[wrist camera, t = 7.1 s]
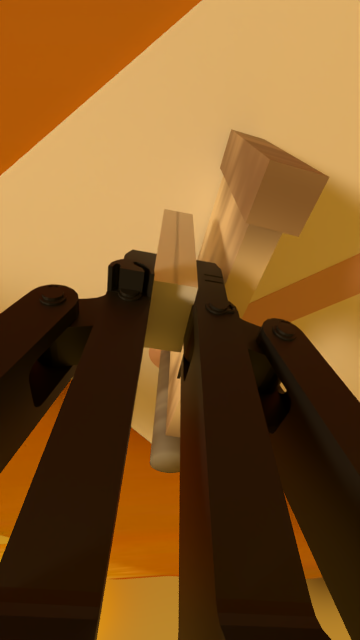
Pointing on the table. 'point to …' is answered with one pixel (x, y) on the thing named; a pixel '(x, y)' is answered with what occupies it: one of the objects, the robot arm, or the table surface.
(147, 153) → the card
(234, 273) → the fence flap
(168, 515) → the table surface
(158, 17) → the table surface
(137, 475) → the table surface
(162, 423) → the fence fixed
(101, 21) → the table surface
